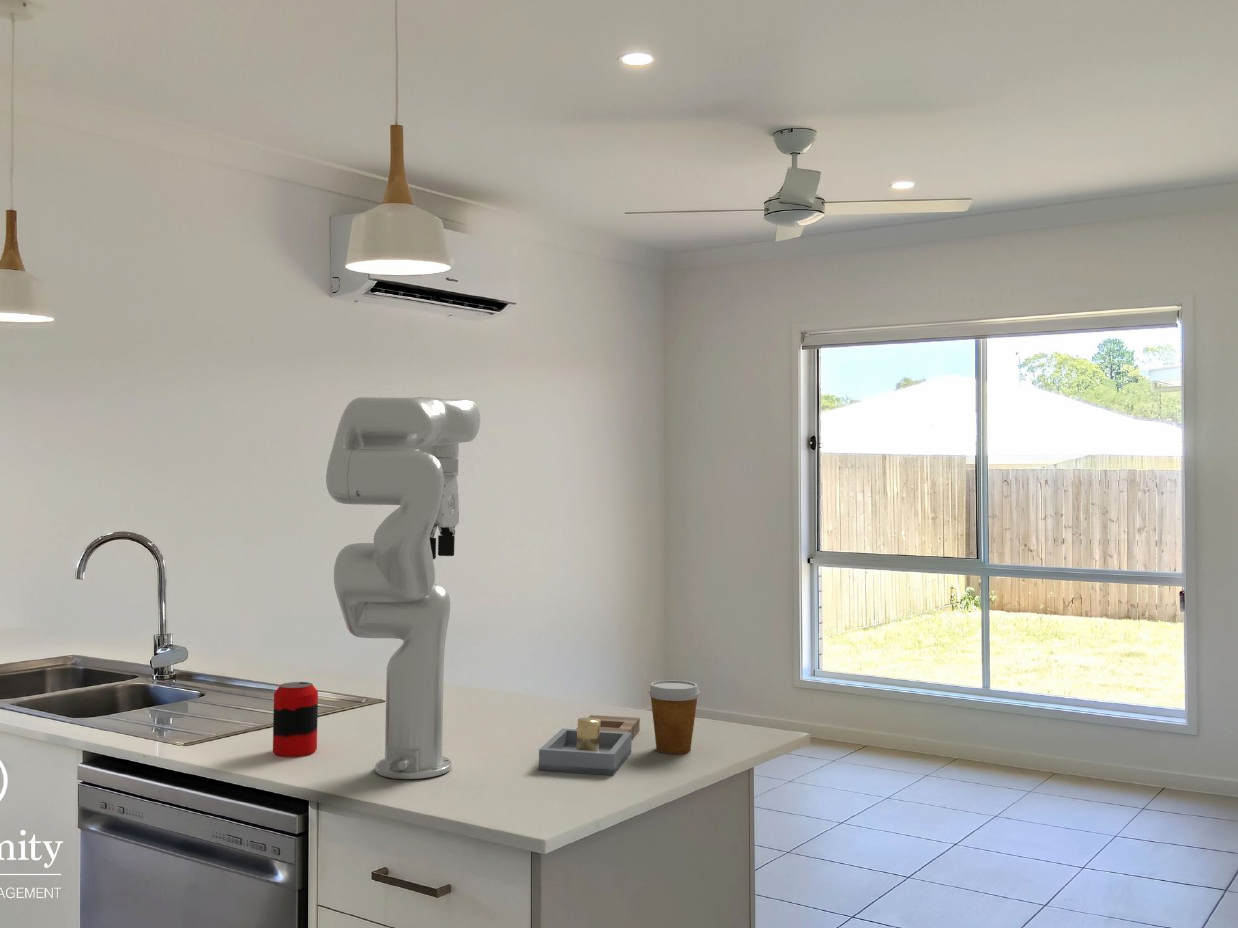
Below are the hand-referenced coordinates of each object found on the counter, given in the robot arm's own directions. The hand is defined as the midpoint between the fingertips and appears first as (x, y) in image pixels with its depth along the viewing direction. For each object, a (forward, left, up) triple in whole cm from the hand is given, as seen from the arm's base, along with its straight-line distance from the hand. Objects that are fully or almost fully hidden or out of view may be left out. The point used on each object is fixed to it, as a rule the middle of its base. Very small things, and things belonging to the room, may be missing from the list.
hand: (436, 557), depth 199 cm
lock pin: (-9, -32, -33) cm, 47 cm away
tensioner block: (+9, -32, -34) cm, 48 cm away
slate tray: (-9, -32, -34) cm, 48 cm away
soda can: (-16, +20, -34) cm, 43 cm away
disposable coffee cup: (+2, -46, -34) cm, 57 cm away
